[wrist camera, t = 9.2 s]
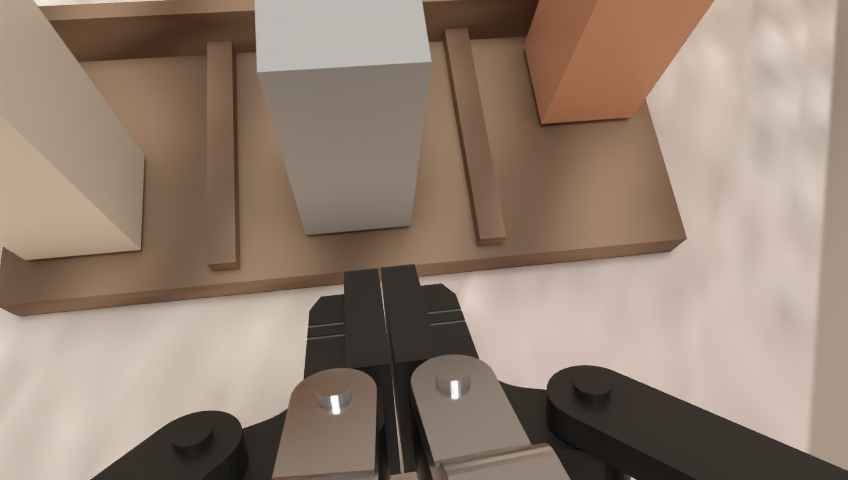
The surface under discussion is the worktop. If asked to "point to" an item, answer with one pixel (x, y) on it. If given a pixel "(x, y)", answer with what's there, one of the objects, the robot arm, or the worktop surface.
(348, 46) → the grey rectangular block
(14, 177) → the cream rectangular block
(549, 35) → the orange block
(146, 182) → the wooden divided tray
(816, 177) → the worktop surface
